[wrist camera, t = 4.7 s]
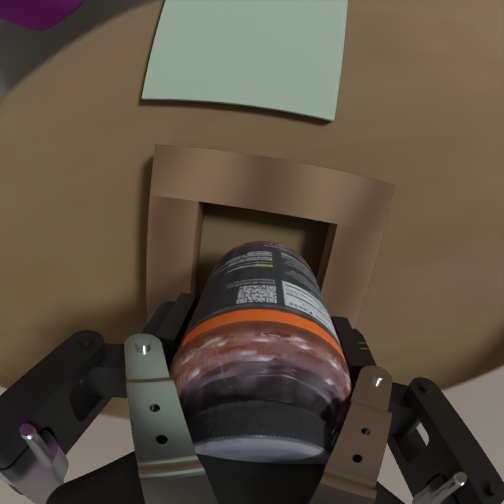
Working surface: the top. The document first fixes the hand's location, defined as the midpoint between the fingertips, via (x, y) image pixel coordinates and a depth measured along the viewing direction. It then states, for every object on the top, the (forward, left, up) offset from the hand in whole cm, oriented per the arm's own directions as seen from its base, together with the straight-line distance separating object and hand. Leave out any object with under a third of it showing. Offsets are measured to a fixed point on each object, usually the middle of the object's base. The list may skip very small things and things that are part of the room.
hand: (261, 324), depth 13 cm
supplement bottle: (0, 0, -4) cm, 4 cm away
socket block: (0, 0, -7) cm, 7 cm away
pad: (+3, -16, -7) cm, 18 cm away
